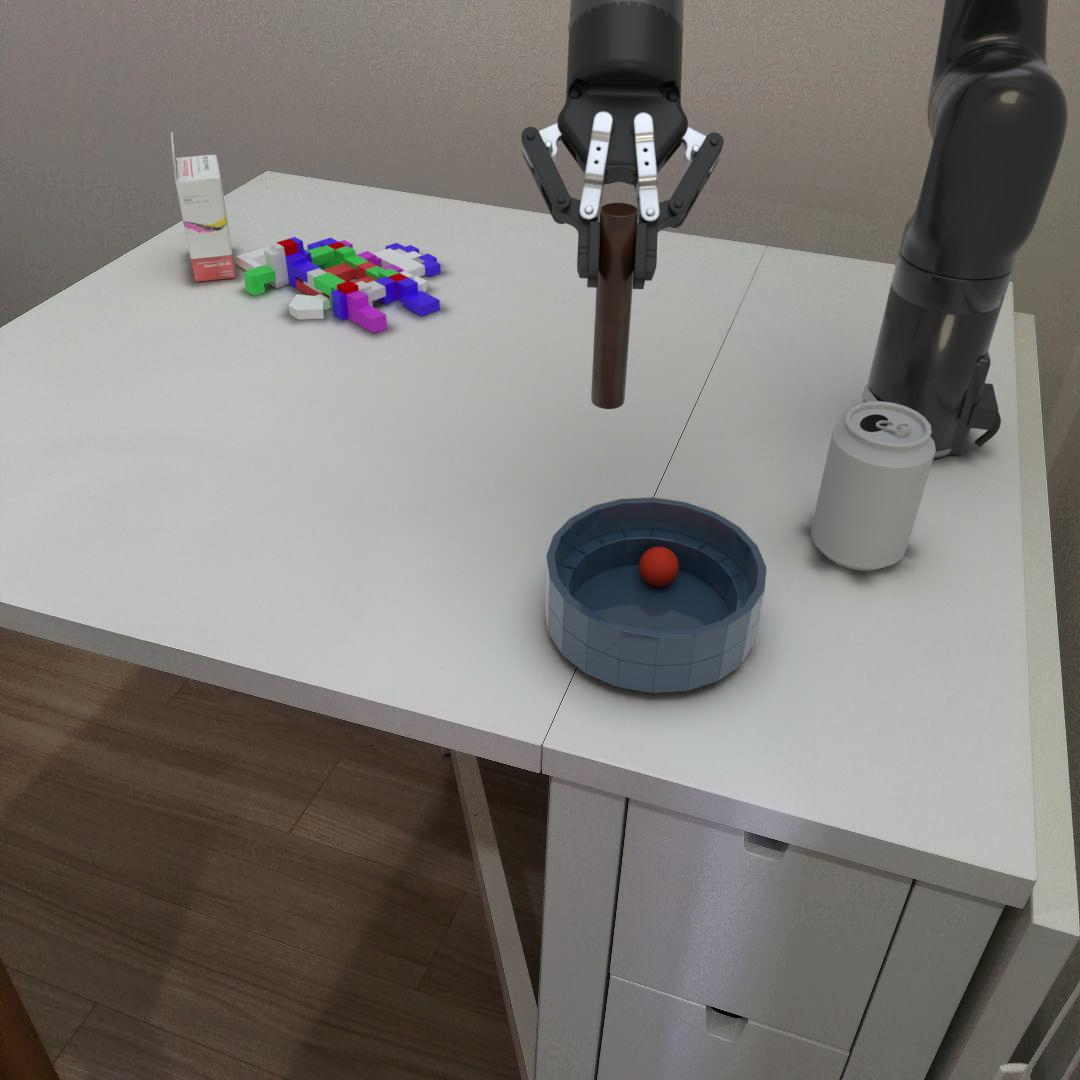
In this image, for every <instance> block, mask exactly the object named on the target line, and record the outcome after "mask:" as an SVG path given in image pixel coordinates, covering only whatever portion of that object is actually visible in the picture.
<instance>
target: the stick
mask: <svg viewBox="0 0 1080 1080" xmlns="http://www.w3.org/2000/svg"><path fill="white" fill-rule="evenodd" d="M599 222H600V223H601V224H600V249H599V273H598V288H595V311H594V327H593V328H594V329H593V330H594V331H593V351H592V372H591V373H592V374H591V393H590V402H591V403H592V405H593V406H595V407H597V408H599V409H602V410H603V409H604V410H615V409H618V408H621V407H622V406H624V404H625V400H626V387H627V372H628V359H629V345H630V329H631V317H632V305H633V304H632V302H633V290H634V289H633V268H634V254H635V239H636V225H637V223H638V209H637V207H636V205H632V204H629V203H626V202H625V203H624V202H610V203H606V204H603V205H601V207H600V213H599Z"/></svg>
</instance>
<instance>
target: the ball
mask: <svg viewBox="0 0 1080 1080" xmlns="http://www.w3.org/2000/svg"><path fill="white" fill-rule="evenodd" d="M678 571H679V562H678V559H677V557H676V555H675V554H674V553H673V552H672V551H671V550H669V549H667V548H665V547H653V548H651V549H649V550H647V551H646V552H645V553H644V554H643V555H642V557H641V559H640V561H639V572H640V575H641V577H642V578H643V579H644V581H645V582H647V583H648V584H650V585H652V586H656V587H662V586H666V585H668V584H670V583H671V582H672V581H673V580H674V579H675V578H676V576H677V574H678Z"/></svg>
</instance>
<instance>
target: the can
mask: <svg viewBox="0 0 1080 1080" xmlns="http://www.w3.org/2000/svg"><path fill="white" fill-rule="evenodd" d="M931 433H932V431H931V425H930V424H929V422H928V421H927V419H926V418H925V417H924V416H922V415H921V414H919V413H918V412H917V411H915V410H913V409H910V408H908V407H906V406H903V405H899V404H895V403H890V402H882V401H874V402H865V403H863V402H861V403H857V404H855V405H853V406H852V407H850V408H848V410H847V411H846V413H845V414H844V418H842V419H841V420H839V421H838V422H837V423H836V424H835V426H834V427H833V429H832V432H831V437H830V442H829V444H828V445H829V446H828V450H827V455H826V458H825V464H824V468H823V473H822V478H821V483H820V487H819V492H818V496H817V500H816V504H815V510H814V513H813V518H812V522H811V526H810V538H811V539H812V541H813V544H814V546H815V547H816V548H817V549H818V550H819V551H820V552H821V553H822V554H823V555H824V556H825V557H826V558H827V559H828V560H829V561H831V562H832V563H835V564H836V565H838V566H840V567H843V568H846V569H849V570H853V571H859V572H860V571H861V572H868V571H869V572H870V571H877V570H880V569H883V568H886V567H889V566H893V565H895V564H896V563H897V562H899V561H900V560H902V559H903V557H904V556H905V554H906V551H907V549H908V546H909V543H910V539H911V535H912V531H913V528H914V526H915V523H916V519H917V515H918V512H919V509H920V505H921V502H922V499H923V495H924V491H925V488H926V484H927V481H928V478H929V474H930V471H931V468H932V464H933V461H934V459H935V458H934V455H935V451H936V449H935V442H934V441H933V439H932V438H931V437H930V435H931Z"/></svg>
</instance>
